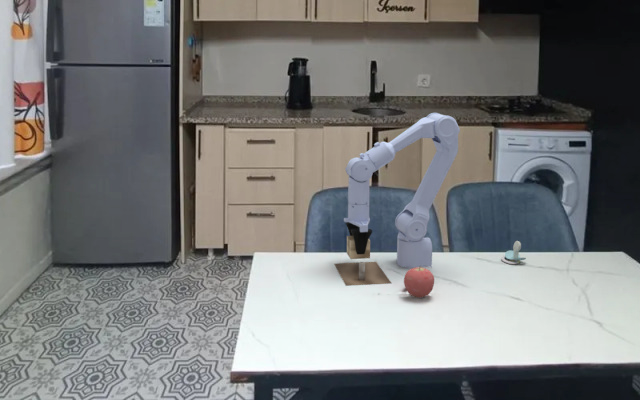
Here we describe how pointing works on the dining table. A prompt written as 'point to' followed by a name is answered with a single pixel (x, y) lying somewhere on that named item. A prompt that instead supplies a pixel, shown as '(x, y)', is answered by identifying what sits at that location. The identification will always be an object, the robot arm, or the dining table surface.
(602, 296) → the dining table surface
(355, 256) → the open-ended tan box
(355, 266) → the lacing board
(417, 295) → the apple
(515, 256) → the pacifier
